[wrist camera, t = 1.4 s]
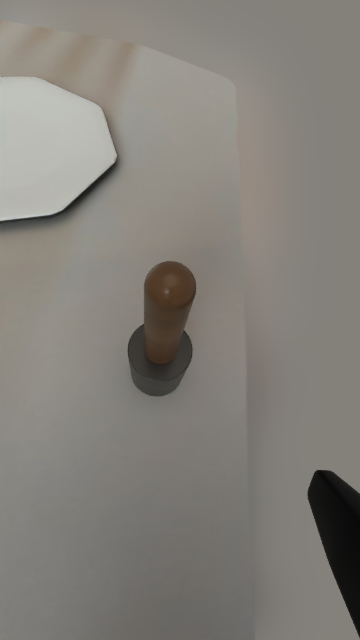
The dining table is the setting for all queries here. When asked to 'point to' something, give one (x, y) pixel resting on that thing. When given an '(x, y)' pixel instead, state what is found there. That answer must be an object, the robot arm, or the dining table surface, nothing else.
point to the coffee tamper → (163, 330)
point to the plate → (48, 148)
